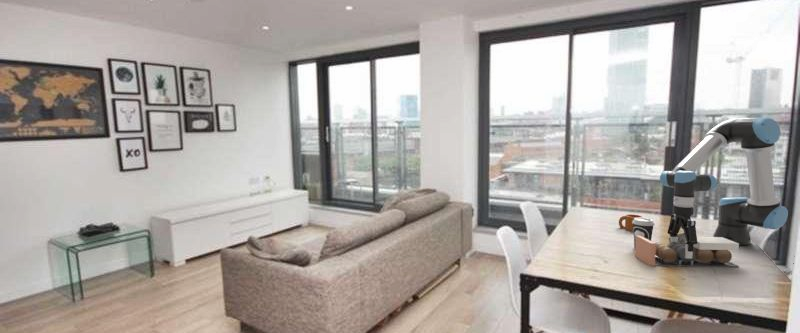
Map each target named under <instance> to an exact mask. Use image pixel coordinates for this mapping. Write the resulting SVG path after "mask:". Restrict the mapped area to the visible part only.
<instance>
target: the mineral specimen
mask: <svg viewBox="0 0 800 333" xmlns="http://www.w3.org/2000/svg"><path fill="white" fill-rule="evenodd" d="M677 235H678V236H675V237H678V243H679V244H681V245H683V246H685V234H684V232H683V233H678V234H677ZM668 241H669V243H668V244H670V243H671V242H670V241H671V236H670V237H669V238H668Z"/></svg>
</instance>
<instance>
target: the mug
mask: <svg viewBox="0 0 800 333" xmlns="http://www.w3.org/2000/svg"><path fill="white" fill-rule="evenodd" d="M634 218H644V217H643V215H640V214H635V213H634V214H632V213H631V214H630V213H629V214H625V215H622V216H621V217H620V218H619V219H618V225H619V226H618V227H620V229H623V230H624V229H625V230H627V231H629V232H634V231H633V223H632V221H633V220H634ZM623 221H625V222H624V225H623Z"/></svg>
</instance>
